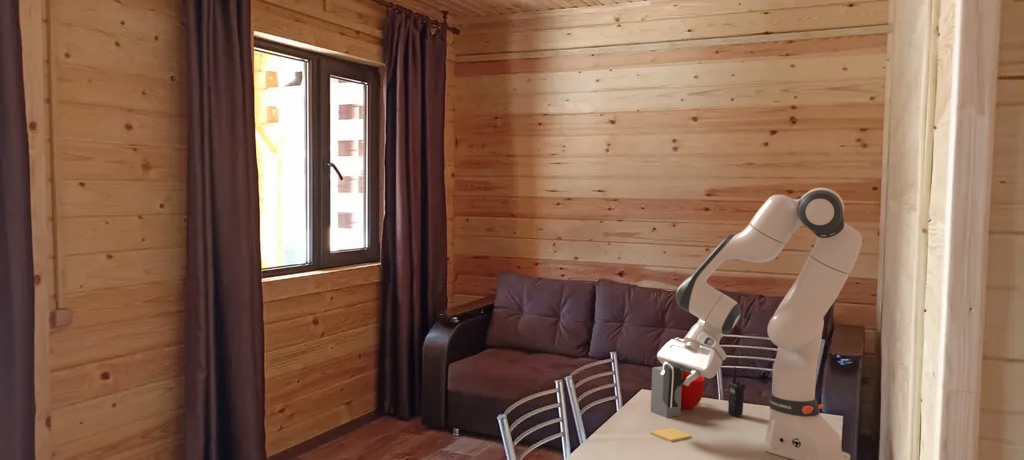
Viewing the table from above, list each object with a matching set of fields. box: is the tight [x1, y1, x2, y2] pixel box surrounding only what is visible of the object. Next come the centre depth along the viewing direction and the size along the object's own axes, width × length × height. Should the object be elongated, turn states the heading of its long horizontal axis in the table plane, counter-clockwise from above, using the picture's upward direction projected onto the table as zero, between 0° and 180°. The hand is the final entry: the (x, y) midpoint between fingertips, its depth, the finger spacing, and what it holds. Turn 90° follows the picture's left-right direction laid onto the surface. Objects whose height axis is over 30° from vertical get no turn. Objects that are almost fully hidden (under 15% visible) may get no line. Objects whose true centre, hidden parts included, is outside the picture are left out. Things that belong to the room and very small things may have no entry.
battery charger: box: [662, 363, 683, 407], centre depth 214 cm, size 7×4×11 cm, turn 3°
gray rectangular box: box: [650, 365, 683, 418], centre depth 237 cm, size 7×6×15 cm
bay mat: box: [650, 427, 692, 443], centre depth 215 cm, size 8×8×1 cm
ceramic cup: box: [681, 372, 706, 412], centre depth 245 cm, size 13×17×10 cm
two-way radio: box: [727, 366, 746, 418], centre depth 237 cm, size 6×4×15 cm
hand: (673, 380), depth 215 cm, fingers closed on battery charger, 7 cm apart
